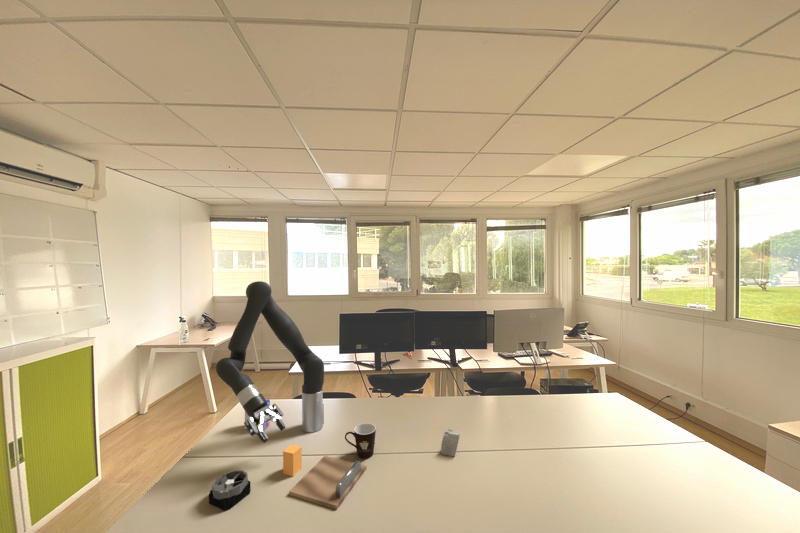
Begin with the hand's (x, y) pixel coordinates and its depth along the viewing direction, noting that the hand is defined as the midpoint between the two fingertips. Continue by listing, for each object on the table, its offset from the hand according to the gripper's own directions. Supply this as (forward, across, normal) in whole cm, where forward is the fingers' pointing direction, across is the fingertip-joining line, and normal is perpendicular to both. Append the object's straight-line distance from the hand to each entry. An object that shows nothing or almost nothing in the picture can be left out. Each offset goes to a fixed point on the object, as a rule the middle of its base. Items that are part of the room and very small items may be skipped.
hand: (275, 434), depth 112 cm
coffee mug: (+27, +18, -11) cm, 34 cm away
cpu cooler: (+7, -17, +10) cm, 21 cm away
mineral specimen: (+50, +31, -34) cm, 68 cm away
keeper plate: (+25, 0, -9) cm, 27 cm away
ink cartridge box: (-12, +20, +29) cm, 37 cm away
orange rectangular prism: (+14, 0, +3) cm, 14 cm away
